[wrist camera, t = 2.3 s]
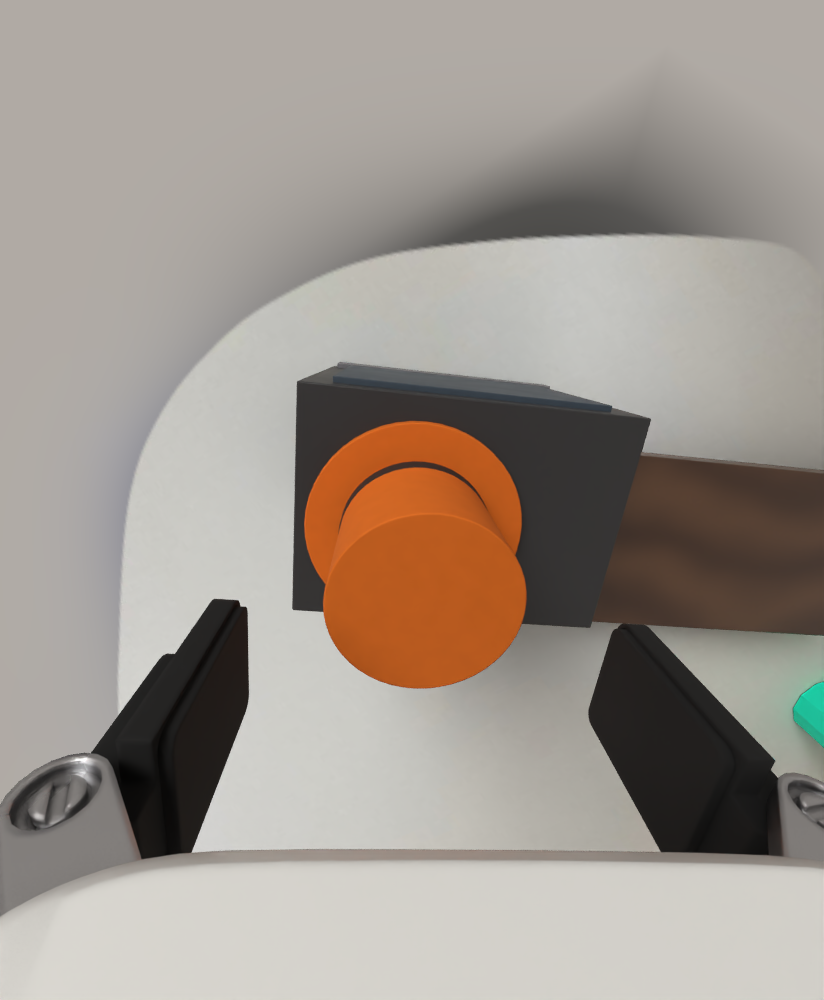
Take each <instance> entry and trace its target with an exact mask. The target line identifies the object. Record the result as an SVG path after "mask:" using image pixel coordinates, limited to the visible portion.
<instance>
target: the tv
mask: <svg viewBox="0 0 824 1000" xmlns="http://www.w3.org/2000/svg"><path fill="white" fill-rule="evenodd" d="M406 421H427V422H433V423H439V424H443V425H447V426H450V427H453V428H456V429H458V430H460V431H463V432H465V433H467V434H469V435H471V436H472V437H474V438H475V439H477V440H478V441H480V442H481V443H482V444H484V445H485V446H486V447H487V448H488V449H489V450H491V451H492V452H493V453H494V454H495V456H496V457H497V458H498V459H499V460H500V461H501V462H502V464H503V465H504V466H505V468H506V470H507V471H508V473H509V474H510V476H511V478H512V480H513V482H514V485H515V487H516V489H517V493H518V496H519V500H520V505H521V512H522V528H521V535H520V541H519V544H518V548H517V551H516V554H515V556H516V558H517V560H518V562H519V564H520V566H521V568H522V572H523V575H524V578H525V583H526V590H527V600H526V608H525V614H524V618H523V621H522V624H536V625H552V626H569V627H586V628H590V627H591V623H592V620H593V616H594V613H595V610H596V606H597V603H598V599H599V596H600V593H601V589H602V586H603V582H604V579H605V575H606V572H607V569H608V565H609V562H610V558H611V555H612V551H613V548H614V545H615V541H616V538H617V534H618V531H619V527H620V524H621V521H622V517H623V514H624V510H625V507H626V504H627V500H628V497H629V493H630V490H631V486H632V483H633V480H634V476H635V473H636V469H637V466H638V462H639V459H640V456H641V452H642V449H643V445H644V442H645V438H646V435H647V432H648V428H649V425H650V421H651V419H650V418H646V417H643V416H639V415H636V414H632V413H628V412H625V411H621V410H618V409H614V408H612V406H610V405H607V404H603V403H599V402H595V401H592V400H588V399H584V398H581V397H577V396H573V395H569V394H566V393H562V392H558V391H555V390H551V389H550V386H546V385H541V384H532V383H523V382H514V381H505V380H496V379H487V378H478V377H469V376H460V375H451V374H442V373H433V372H424V371H415V370H406V369H398V368H389V367H380V366H371V365H362V364H353V363H344V362H339V363H338V367H337V366H334V367H331V368H329V369H326V370H324V371H321V372H319V373H317V374H314V375H312V376H309V377H307V378H304V379H302V380H299V381H297V408H296V457H295V506H294V554H293V603H292V609H293V610H302V611H319V612H323V598H324V590H325V585H326V584H325V583H324V582H323V580H322V579H321V577H320V576H319V574H318V573H317V571H316V569H315V567H314V565H313V563H312V561H311V558H310V555H309V552H308V549H307V544H306V539H305V526H304V521H305V511H306V506H307V502H308V498H309V495H310V492H311V490H312V488H313V485H314V483H315V481H316V479H317V477H318V476H319V474H320V472H321V471H322V469H323V467H324V466H325V465H326V464H327V462H328V461H329V460H330V459H331V457H332V456H333V455H334V454H335V453H336V452H338V451H339V450H340V449H341V448H342V447H343V446H344V445H346V444H347V443H348V442H350V441H351V440H353V439H354V438H356V437H358V436H359V435H361V434H363V433H365V432H367V431H369V430H372V429H375V428H377V427H380V426H383V425H387V424H392V423H396V422H406Z"/></svg>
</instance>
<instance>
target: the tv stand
mask: <svg viewBox="0 0 824 1000" xmlns="http://www.w3.org/2000/svg"><path fill="white" fill-rule="evenodd" d="M592 622H608V623H624V624H641V625H657V626H673V627H689V628H706V629H722V630H738V631H755V632H771V633H787V634H803V635H820V636H824V470H815V469H805V468H795V467H785V466H775V465H765V464H755V463H745V462H735V461H725V460H715V459H704V458H694V457H684V456H674V455H664V454H654V453H644V452H641V456H640V459H639V462H638V466H637V469H636V473H635V476H634V480H633V483H632V486H631V490H630V493H629V497H628V500H627V504H626V507H625V510H624V514H623V517H622V521H621V524H620V527H619V531H618V534H617V538H616V541H615V545H614V548H613V551H612V555H611V558H610V562H609V565H608V569H607V572H606V575H605V579H604V582H603V586H602V589H601V593H600V596H599V599H598V603H597V606H596V610H595V613H594V616H593V620H592Z"/></svg>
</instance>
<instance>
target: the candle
mask: <svg viewBox="0 0 824 1000" xmlns="http://www.w3.org/2000/svg"><path fill="white" fill-rule="evenodd" d="M793 713H794V721H795V722H796V723H797V724H798V725H800V726H801V727H802V728H803V729H804V730H805V731H806V732H807V733H808V734H809V735H810V736H812V737H813V738H814V739H815V740H816V741H817V742H818V743H819V744H820V745H821V746H822V747H824V682H821V683H818V684H815V685H814V686H813V687H811V688H810V689H809V690H807V691H806V692H805V693H803V694H802V695H801V696H800V698H799V700H798V701H797V703H796V705H795V706H794V708H793Z"/></svg>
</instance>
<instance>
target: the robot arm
mask: <svg viewBox="0 0 824 1000" xmlns="http://www.w3.org/2000/svg"><path fill="white" fill-rule="evenodd" d="M248 698H249V675H248V613H247V608H246V607H240V603H239V601H238V600H224V599H213V600H212V601H211V603H210V604H209V605H208V607H207V608H206V610H205V611H204V613H203V614H202V616H201V617H200V618H199V620H198V621H197V623H196V624H195V626H194V627H193V629H192V630H191V631H190V633H189V634H188V636H187V637H186V639H185V640H184V642H183V643H182V644H181V646H180V647H179V649H178V650H177V652H176V653H175V654H165V655H163V656H162V657H161V658H160V659H159V661H158V662H157V663H156V665H155V666H154V667H153V669H152V670H151V671H150V673H149V674H148V676H147V677H146V678H145V680H144V681H143V682H142V684H141V685H140V687H139V688H138V689H137V691H136V692H135V693H134V695H133V696H132V698H131V699H130V700H129V702H128V703H127V704H126V706H125V707H124V709H123V710H122V711H121V713H120V714H119V715H118V717H117V718H116V719H115V721H114V722H113V724H112V725H111V726H110V728H109V729H108V731H107V732H106V733H105V735H104V736H103V737H102V739H101V740H100V741H99V743H98V744H97V746H96V747H95V748H94V750H93V751H92V752H91V753H80V754H73V755H68V756H65V757H62V758H59V759H56V760H53V761H51V762H49V763H47V764H45V765H43V766H41V767H39V768H37V769H36V770H34V771H33V772H31V773H30V774H29V775H27V776H26V777H25V778H23V779H22V780H21V781H19V782H18V783H17V784H16V785H15V786H14V788H13V789H11V791H10V792H9V793H8V794H7V795H6V796H5V798H4V799H3V801H2V803H1V804H0V1000H824V783H823V782H821V781H819V780H817V779H814V778H812V777H809V776H807V775H802V774H798V773H784V774H783V775H781V776H780V777H779V778H777V776H776V775H775V774H774V773H773V772H772V771H771V768H772V766H773V764H774V762H775V760H774V759H773V758H772V757H771V756H770V755H769V754H768V752H767V751H766V750H765V749H764V748H763V747H762V746H761V745H760V744H759V743H758V742H757V741H756V740H755V739H754V738H753V737H752V736H751V735H750V734H749V732H748V731H747V730H746V729H745V728H744V727H743V726H742V725H741V724H740V723H739V722H738V721H737V720H736V719H735V718H734V717H733V716H732V715H731V714H730V712H729V711H728V710H727V709H726V708H725V707H724V706H723V705H722V704H721V703H720V702H719V701H718V700H717V699H716V698H715V697H714V696H713V695H712V694H711V693H710V691H709V690H708V689H707V688H706V687H705V686H704V685H703V684H702V683H701V682H700V681H699V680H698V679H697V678H696V677H695V676H694V675H693V674H692V673H691V671H690V670H689V669H688V668H687V667H686V666H685V665H684V664H683V663H682V662H681V661H680V660H679V659H678V658H677V657H676V656H675V655H674V654H673V653H672V652H671V650H670V649H669V648H668V647H667V646H666V645H665V644H664V643H663V642H662V641H661V640H660V639H659V638H658V637H657V636H656V635H655V634H654V633H653V632H652V630H651V629H650V628H649V627H647V626H646V625H639V624H621V625H620V626H619V627H618V629H614V631H613V632H612V634H611V638H610V641H609V644H608V647H607V651H606V654H605V657H604V661H603V664H602V667H601V670H600V674H599V677H598V680H597V683H596V687H595V690H594V693H593V697H592V700H591V703H590V706H589V714H588V715H589V720H590V723H591V726H592V727H593V729H594V731H595V733H596V735H597V737H598V738H599V740H600V742H601V744H602V746H603V747H604V749H605V751H606V753H607V755H608V756H609V758H610V760H611V762H612V764H613V766H614V767H615V769H616V771H617V773H618V775H619V776H620V778H621V780H622V782H623V784H624V786H625V787H626V789H627V791H628V793H629V795H630V796H631V798H632V800H633V802H634V804H635V806H636V807H637V809H638V811H639V813H640V815H641V816H642V818H643V820H644V822H645V824H646V826H647V827H648V829H649V831H650V833H651V835H652V836H653V838H654V840H655V842H656V844H657V846H658V847H659V849H660V851H661V852H617V851H539V850H406V849H294V850H231V851H212V852H197V853H191V852H192V850H193V847H194V845H195V842H196V839H197V837H198V834H199V832H200V829H201V826H202V824H203V821H204V819H205V816H206V813H207V811H208V808H209V806H210V803H211V800H212V798H213V795H214V793H215V790H216V787H217V785H218V782H219V780H220V777H221V774H222V772H223V769H224V767H225V764H226V761H227V759H228V756H229V754H230V751H231V748H232V746H233V743H234V741H235V738H236V736H237V733H238V730H239V728H240V725H241V723H242V720H243V717H244V715H245V712H246V709H247V705H248Z"/></svg>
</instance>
